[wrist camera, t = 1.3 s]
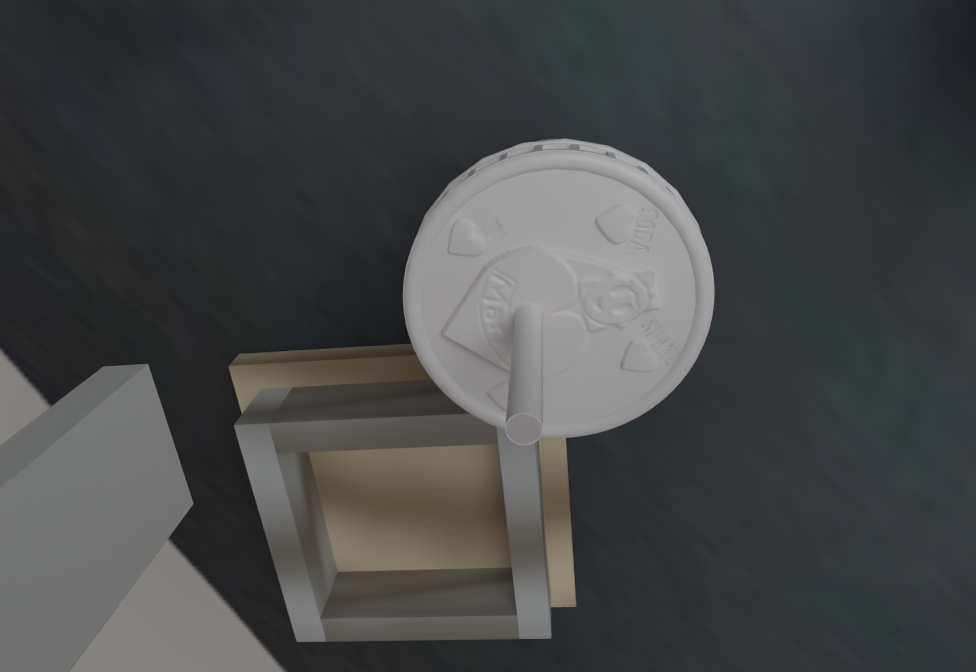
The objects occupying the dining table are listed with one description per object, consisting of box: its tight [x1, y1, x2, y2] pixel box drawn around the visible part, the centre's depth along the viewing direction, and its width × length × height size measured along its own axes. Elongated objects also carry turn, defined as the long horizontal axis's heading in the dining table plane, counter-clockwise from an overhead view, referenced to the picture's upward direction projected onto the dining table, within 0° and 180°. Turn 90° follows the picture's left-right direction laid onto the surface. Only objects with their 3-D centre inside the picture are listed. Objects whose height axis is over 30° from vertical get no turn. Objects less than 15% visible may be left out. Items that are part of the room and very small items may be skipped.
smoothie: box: [403, 138, 714, 445], centre depth 16 cm, size 6×6×14 cm
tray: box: [229, 344, 576, 642], centre depth 26 cm, size 12×12×4 cm
